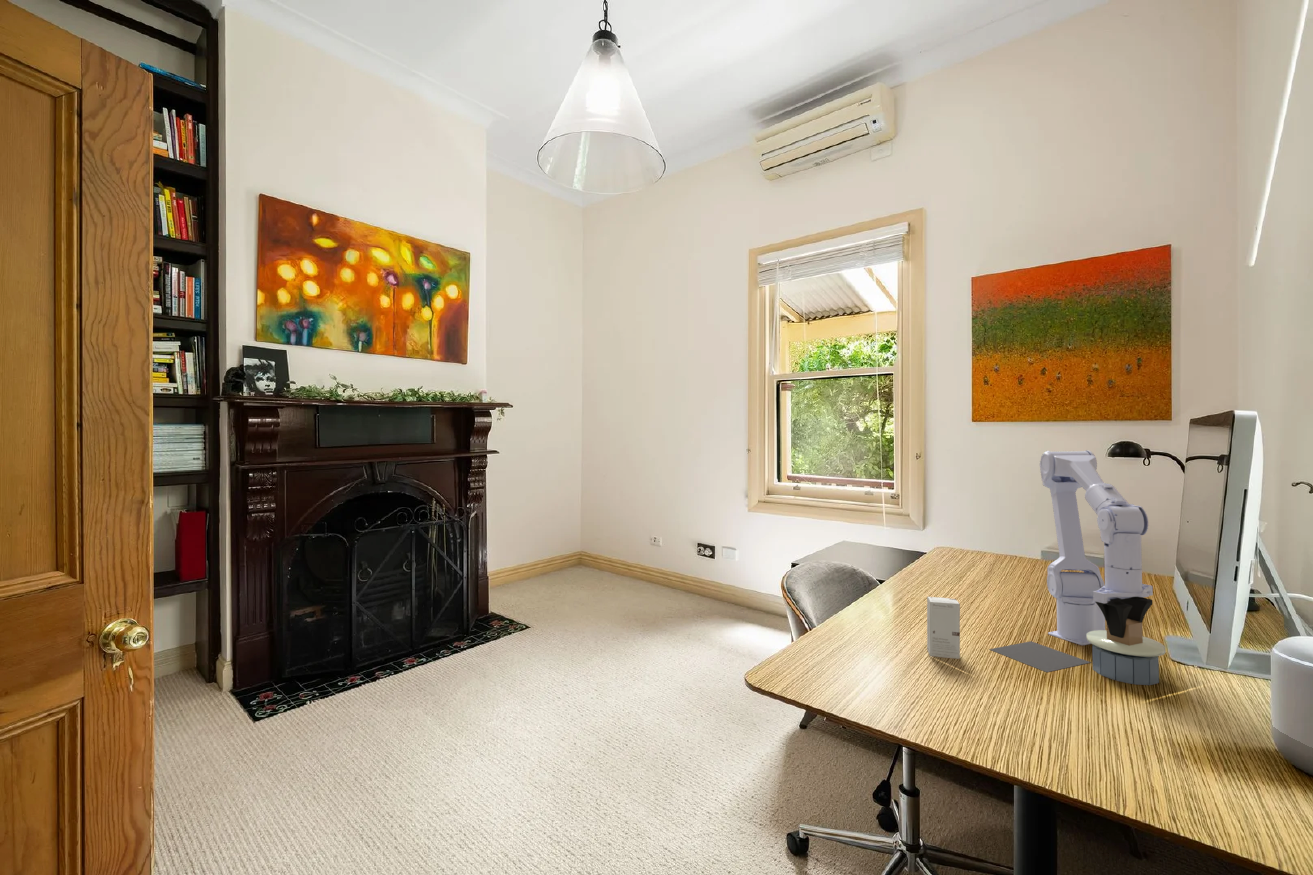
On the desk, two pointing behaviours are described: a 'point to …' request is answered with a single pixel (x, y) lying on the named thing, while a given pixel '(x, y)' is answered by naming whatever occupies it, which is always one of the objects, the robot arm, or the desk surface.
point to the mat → (1039, 656)
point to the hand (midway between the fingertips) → (1124, 634)
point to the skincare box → (943, 627)
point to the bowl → (1126, 667)
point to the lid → (1127, 641)
